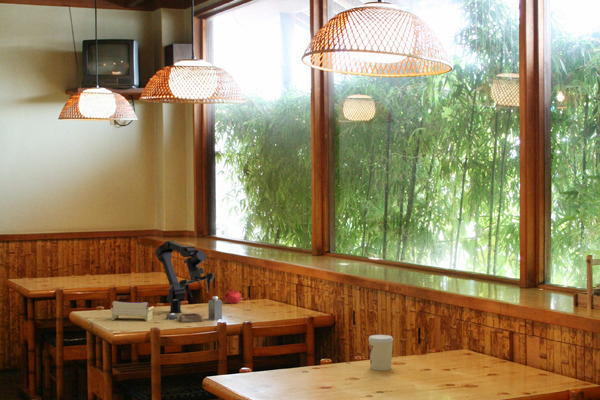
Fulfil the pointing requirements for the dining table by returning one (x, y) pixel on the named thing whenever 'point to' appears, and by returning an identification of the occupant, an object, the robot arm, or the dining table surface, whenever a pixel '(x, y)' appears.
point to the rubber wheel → (171, 316)
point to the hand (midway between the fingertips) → (200, 295)
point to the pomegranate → (232, 297)
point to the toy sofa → (132, 310)
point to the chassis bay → (190, 317)
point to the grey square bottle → (215, 308)
